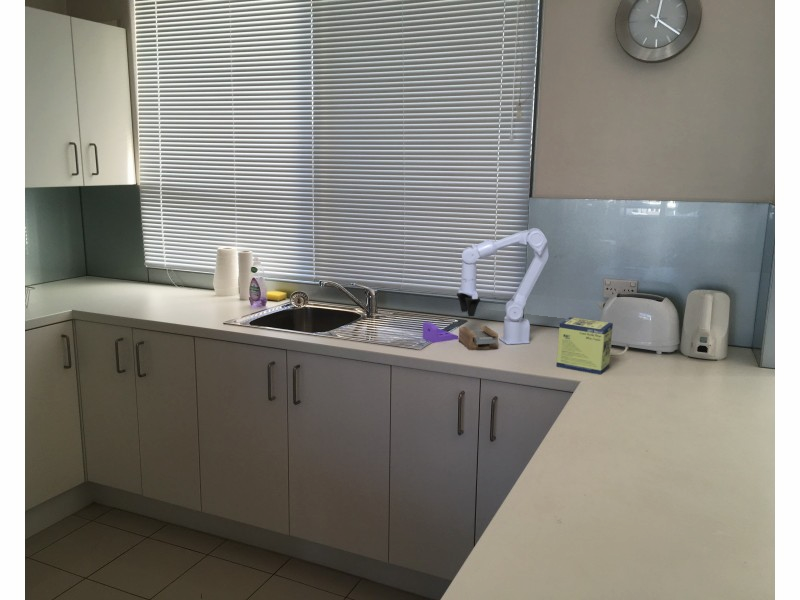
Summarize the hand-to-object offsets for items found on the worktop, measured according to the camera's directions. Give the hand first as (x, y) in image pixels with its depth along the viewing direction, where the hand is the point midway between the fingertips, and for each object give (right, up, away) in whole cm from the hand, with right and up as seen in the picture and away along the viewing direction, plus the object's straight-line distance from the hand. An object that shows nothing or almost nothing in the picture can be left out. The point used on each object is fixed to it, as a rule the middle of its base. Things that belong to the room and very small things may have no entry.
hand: (467, 313), depth 260 cm
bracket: (-10, -10, +3) cm, 15 cm away
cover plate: (+4, -9, -9) cm, 13 cm away
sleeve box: (+3, -12, -5) cm, 13 cm away
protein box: (+36, -18, -29) cm, 50 cm away
